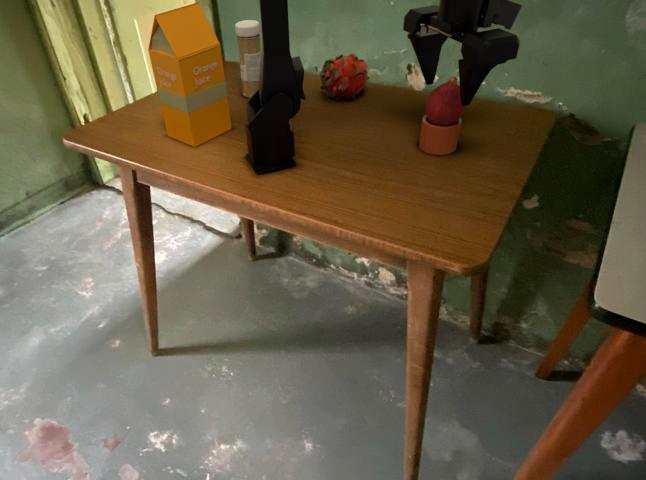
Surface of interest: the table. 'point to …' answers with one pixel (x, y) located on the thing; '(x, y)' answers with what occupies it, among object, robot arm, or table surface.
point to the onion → (445, 104)
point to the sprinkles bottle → (249, 54)
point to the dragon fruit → (343, 76)
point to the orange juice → (189, 75)
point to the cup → (439, 137)
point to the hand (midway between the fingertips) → (446, 94)
